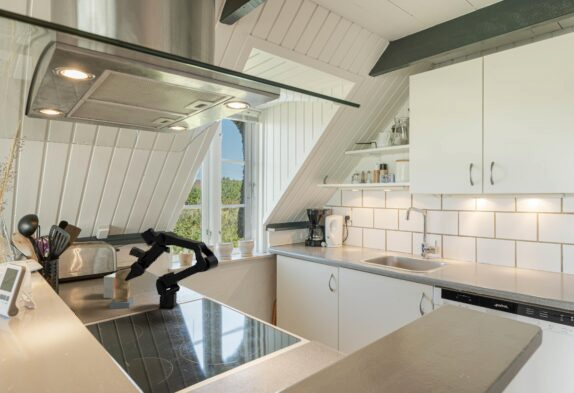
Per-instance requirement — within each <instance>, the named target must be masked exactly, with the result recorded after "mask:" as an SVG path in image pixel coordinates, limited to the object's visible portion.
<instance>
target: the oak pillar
mask: <svg viewBox="0 0 574 393" xmlns="http://www.w3.org/2000/svg"><path fill="white" fill-rule="evenodd" d="M130 271H131V269H125V270H121V269H120V270H119V269H118V270H117V271H116V272H115V273H116V274H115V302H128V300H129V298H130V297H131V283H130V282H131V280H128V281H125V278H126V277H127V275H128V274H129V273H130Z"/></svg>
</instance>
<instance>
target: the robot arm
mask: <svg viewBox="0 0 574 393" xmlns="http://www.w3.org/2000/svg"><path fill="white" fill-rule="evenodd" d="M140 239H142V241H143V242H144V243H145V244H146V246H148V247H150V248H149V249H146V250H144V249H140V248H139V247H137V246H132V248H130V250H129V253H128V255H129V256H132V257H135V258H137V260H135V261H134V262H133V263H132V264H131V265H130V268H129V269H130V273H129V274H128V275H127V277H126V278H125V281H128V280H130V281H131V280H134V279H136V278H138V277H141V276H142V275H144V273H145V272H147V269H148V268H150V266H152V264H153V263H155V262H156V261H157V259H159V258H160V257H161V256H162V255H163V254H164V253H167V254H170V253H171V247H170V246H175V247H179V248H182V249H186V250H190V251H193V253H194V256H195V260H196V262H195V264H194V265H193V264H192V265H191V266H189V267H187V268H185V269H183V270H181V271H178V272H176V273H175V271H174V270H173V271H171V272H167V273H165V274H162V275H160V276H158V278H157V279H156V280H155V281H156V282H155V288H156V291H157V295H158V296H159V306H158V309H164V310H165V309H166V310H167V309H168V310H169V309H170V310H172V309H174V308H175V307H177V306H178V304H179V303H178V302H177V297H178V296H177V294H178V292H179V291H180V289H181V286H180V285H179V282H181V281H183V280H185V279H187V278H189V277H191V276H193V275H196V274H200V273H204V272H208V271H211V270H213V269H216V268H217V267H218V266H219V259H218V257H217V256H216V255H215V253H214V251H212V250H211V249H210V248H209V247H208V245H207V244H206V242H204V241H202V240H201V241H199V240H196V239H192V238H187V237H183V236H180V235H179V234H178V233H175V232H174V231H163V232H159V233H158V234H157V232H156V231H155V230H154V228H153V227H151V228H150V227H148V229H147V230H145V231H143V232H142V233H141V234H140ZM203 255H204V256H205V257H204V256H203Z"/></svg>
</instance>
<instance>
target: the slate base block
mask: <svg viewBox="0 0 574 393" xmlns="http://www.w3.org/2000/svg"><path fill="white" fill-rule="evenodd" d="M133 303H134V296H130V298H129V300H128V302H115V298H114V299H112V300H111V301H110V302H109V310H118V309H119V310H120V309H121V310H122V309H130V307H131V306H132V305H133Z"/></svg>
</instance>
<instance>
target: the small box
mask: <svg viewBox="0 0 574 393" xmlns="http://www.w3.org/2000/svg"><path fill="white" fill-rule="evenodd" d="M116 273H117V272H113V273H112V274H111V273H110V274H107V275H105V276H104V275H103V298H104V299H112V300H113V299H114V298H115V274H116Z"/></svg>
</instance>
